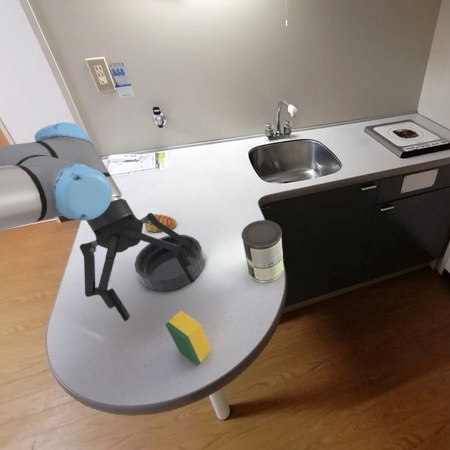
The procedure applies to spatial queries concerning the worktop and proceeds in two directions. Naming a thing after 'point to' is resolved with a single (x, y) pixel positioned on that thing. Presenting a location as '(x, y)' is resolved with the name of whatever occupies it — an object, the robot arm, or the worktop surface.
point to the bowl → (168, 265)
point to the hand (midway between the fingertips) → (161, 299)
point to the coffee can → (263, 250)
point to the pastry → (164, 220)
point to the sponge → (188, 337)
